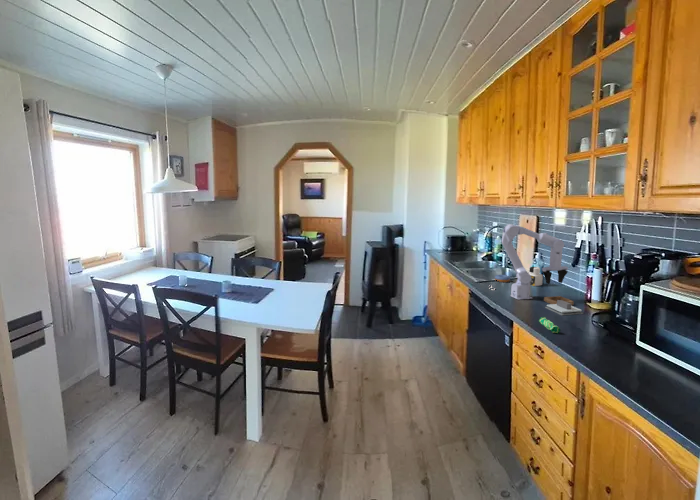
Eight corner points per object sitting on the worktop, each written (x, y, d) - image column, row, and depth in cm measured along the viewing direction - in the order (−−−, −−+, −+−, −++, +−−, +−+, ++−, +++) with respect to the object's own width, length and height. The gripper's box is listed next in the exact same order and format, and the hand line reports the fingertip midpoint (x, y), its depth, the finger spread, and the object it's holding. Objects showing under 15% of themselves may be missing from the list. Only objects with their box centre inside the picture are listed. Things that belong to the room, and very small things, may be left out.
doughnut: (500, 278, 248) (500, 272, 247) (513, 281, 240) (513, 275, 239) (491, 281, 244) (491, 275, 243) (503, 285, 235) (503, 278, 234)
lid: (561, 314, 172) (562, 306, 171) (546, 307, 183) (547, 299, 182) (581, 312, 173) (582, 304, 173) (565, 305, 184) (565, 298, 183)
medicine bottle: (525, 284, 232) (526, 266, 230) (533, 282, 234) (534, 265, 232) (534, 286, 225) (535, 268, 223) (542, 285, 228) (543, 267, 226)
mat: (561, 315, 171) (561, 314, 171) (545, 307, 183) (545, 307, 183) (583, 313, 173) (583, 313, 173) (565, 306, 185) (565, 305, 184)
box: (556, 306, 184) (556, 302, 184) (543, 301, 194) (544, 297, 194) (573, 305, 186) (573, 301, 185) (559, 300, 195) (560, 296, 195)
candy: (561, 331, 149) (556, 324, 149) (554, 335, 150) (549, 328, 150) (548, 321, 161) (543, 315, 161) (541, 325, 162) (537, 318, 161)
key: (489, 290, 219) (496, 290, 218) (489, 289, 219) (496, 289, 218) (487, 286, 231) (494, 286, 229) (487, 284, 231) (494, 284, 229)
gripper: (548, 261, 190) (547, 285, 192) (572, 260, 192) (570, 283, 194) (540, 259, 197) (538, 282, 199) (563, 258, 198) (561, 281, 201)
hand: (554, 283), depth 197 cm, fingers open, 7 cm apart
